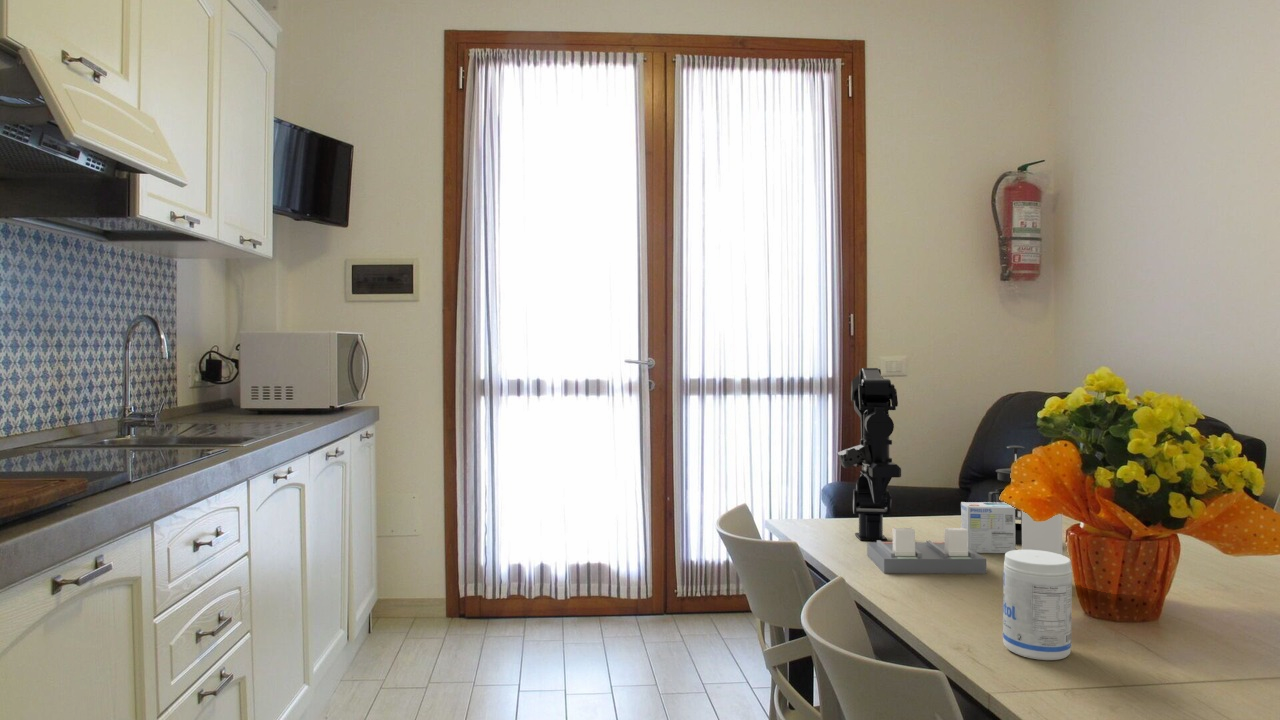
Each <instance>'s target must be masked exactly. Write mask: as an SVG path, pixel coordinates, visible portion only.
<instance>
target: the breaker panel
mask: <svg viewBox="0 0 1280 720" xmlns="http://www.w3.org/2000/svg"><path fill="white" fill-rule="evenodd" d="M866 546H867V547H866V556H867V557H868V558H869V559H870V560H871V561H872V562H873V563H874V565H876V566H877V568H878V569H880V571H882V573H884V574H947V575H948V574H951V575H952V574H957V575H958V574H959V575H960V574H965V575H966V574H969V575H970V574H979V575H980V574H981V575H982V574H984V575H985V574H987V558H985V557H984V556H982V555H981V554H980V553H976V552H975V551H973V550H972V549H970V548H969V547H968V556H948V553H946V552H945V551H944V548H945V541H932V540H930V539H929V540H928V539H927V540H925V542H918V541H917V542H916V541H915V556H895V553H894V552H893V551H892V548H893V541H883V540H876V542H875V541H873V542H866Z"/></svg>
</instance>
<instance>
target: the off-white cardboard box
mask: <svg viewBox="0 0 1280 720" xmlns="http://www.w3.org/2000/svg"><path fill="white" fill-rule="evenodd" d="M1021 550H1040V551H1048V552H1053V553H1057V554H1061V555H1063V514H1062V515H1060V514H1059V515H1055V516H1053V517H1052V518H1050V519H1048V520H1047V521H1043V522H1036V521H1033V520H1032V518H1031V517H1030V516H1029V515H1028V514H1027V513H1025V512H1023V511H1022V545H1021Z"/></svg>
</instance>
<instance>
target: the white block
mask: <svg viewBox="0 0 1280 720" xmlns="http://www.w3.org/2000/svg"><path fill="white" fill-rule="evenodd" d="M892 542H893V548H892V551H893V552H894V553H895V556H915V542H916V530H915V529H914V528H913V527H892Z"/></svg>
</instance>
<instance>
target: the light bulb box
mask: <svg viewBox="0 0 1280 720" xmlns="http://www.w3.org/2000/svg"><path fill="white" fill-rule="evenodd" d="M1011 505H1012V504H1011ZM1011 505H1009V504H1007V503H1005V502H1004V501H1003V502H1000V503H998V502H997V503H996V502H995V501H993V502H989V501H987V502H986V501H983V502H982V501H981V502H980V501H979V502H976V501H975V502H973V501H972V502H971V501H970V502H969V501H968V502H967V501H966V502H965V501H961V502H960V515H961V516H960V518H961V519H960V524H961V525H960V528H965V529H966V530H968V547H969V548H970V549H972V550H973V551H975V552H976V553H978V554H1006V553H1007V552H1008V551H1012V550H1016V544H1015V523H1016V519H1015V508H1014V507H1015V506H1014V507H1012V506H1013V505H1012V506H1011Z"/></svg>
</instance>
